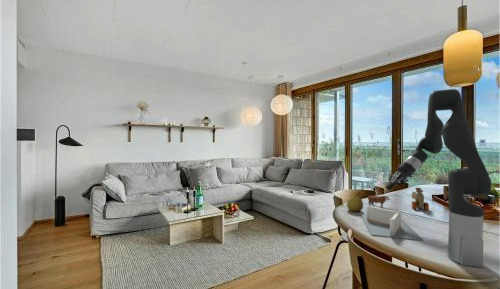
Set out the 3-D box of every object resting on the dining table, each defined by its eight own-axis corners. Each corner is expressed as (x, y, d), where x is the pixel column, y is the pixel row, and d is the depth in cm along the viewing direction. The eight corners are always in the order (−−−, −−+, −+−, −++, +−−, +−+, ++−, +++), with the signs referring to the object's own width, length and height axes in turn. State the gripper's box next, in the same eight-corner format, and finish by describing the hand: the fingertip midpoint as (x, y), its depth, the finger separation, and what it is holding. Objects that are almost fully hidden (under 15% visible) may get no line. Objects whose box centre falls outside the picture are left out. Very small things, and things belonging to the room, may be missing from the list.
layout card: (423, 241, 104) (423, 239, 104) (371, 235, 110) (371, 234, 110) (400, 217, 135) (400, 217, 135) (360, 214, 140) (360, 213, 140)
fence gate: (395, 224, 122) (396, 211, 121) (394, 225, 120) (394, 211, 120) (367, 218, 132) (367, 205, 132) (366, 218, 131) (366, 206, 130)
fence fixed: (396, 226, 121) (396, 211, 121) (401, 227, 120) (401, 212, 120) (389, 236, 109) (389, 219, 109) (394, 237, 108) (394, 220, 108)
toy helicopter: (413, 210, 149) (414, 188, 149) (406, 202, 169) (406, 182, 168) (429, 211, 146) (430, 189, 146) (420, 203, 166) (420, 183, 165)
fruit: (344, 209, 150) (344, 190, 150) (355, 208, 153) (355, 189, 153) (354, 213, 142) (354, 193, 142) (366, 212, 145) (366, 192, 145)
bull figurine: (391, 208, 153) (391, 195, 153) (368, 207, 156) (368, 194, 156) (388, 206, 157) (388, 194, 157) (366, 205, 160) (366, 193, 160)
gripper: (396, 160, 137) (375, 181, 137) (414, 162, 124) (390, 186, 123) (405, 169, 138) (384, 191, 137) (423, 172, 124) (400, 196, 124)
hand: (387, 188), depth 130 cm, fingers closed
